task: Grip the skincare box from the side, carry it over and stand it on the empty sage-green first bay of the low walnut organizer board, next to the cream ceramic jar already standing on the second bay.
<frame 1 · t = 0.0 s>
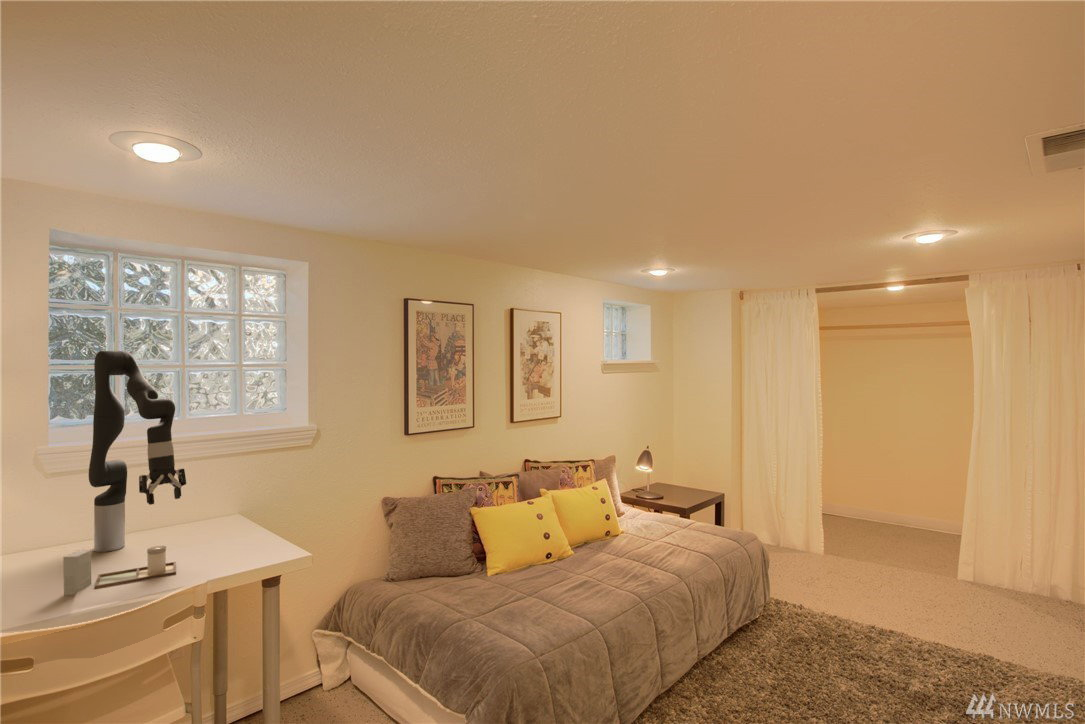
hand: (164, 501, 194), 22 cm above the table, tool pointing down, fingers open, 8 cm apart
cream jar: (156, 572, 186), point 1 cm above the table, touching organizer
organizer: (137, 578, 183), on the table
skincare box: (77, 592, 173), on the table
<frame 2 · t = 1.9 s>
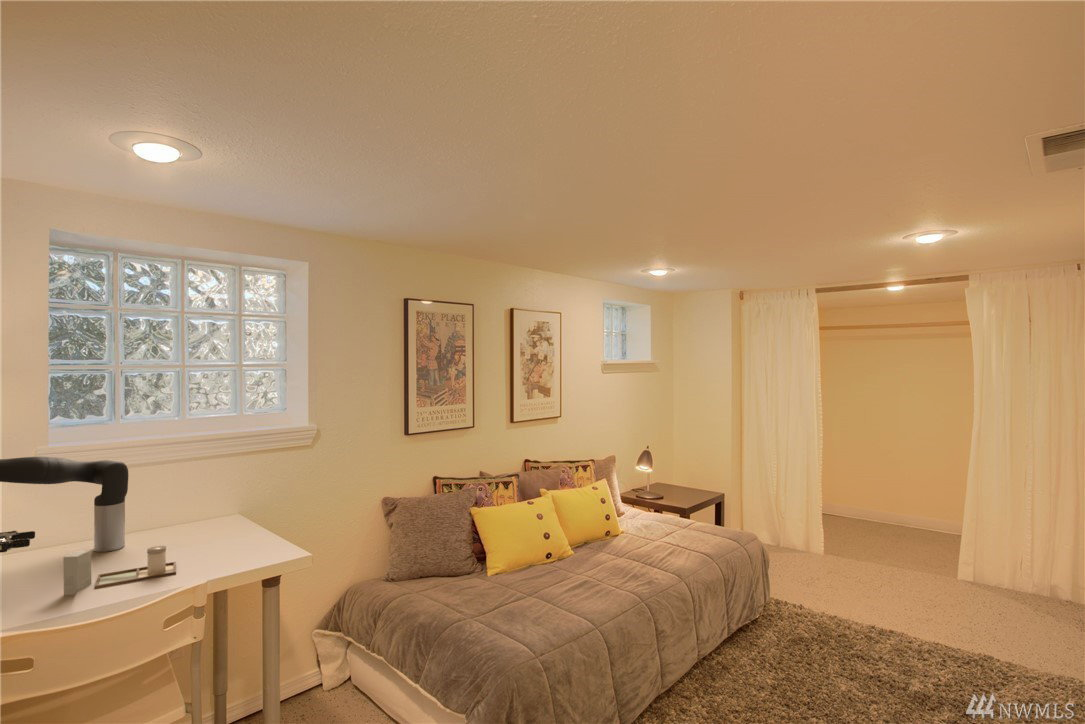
hand: (32, 538, 166), 19 cm above the table, tool horizontal, fingers open, 8 cm apart
nothing on the table moved.
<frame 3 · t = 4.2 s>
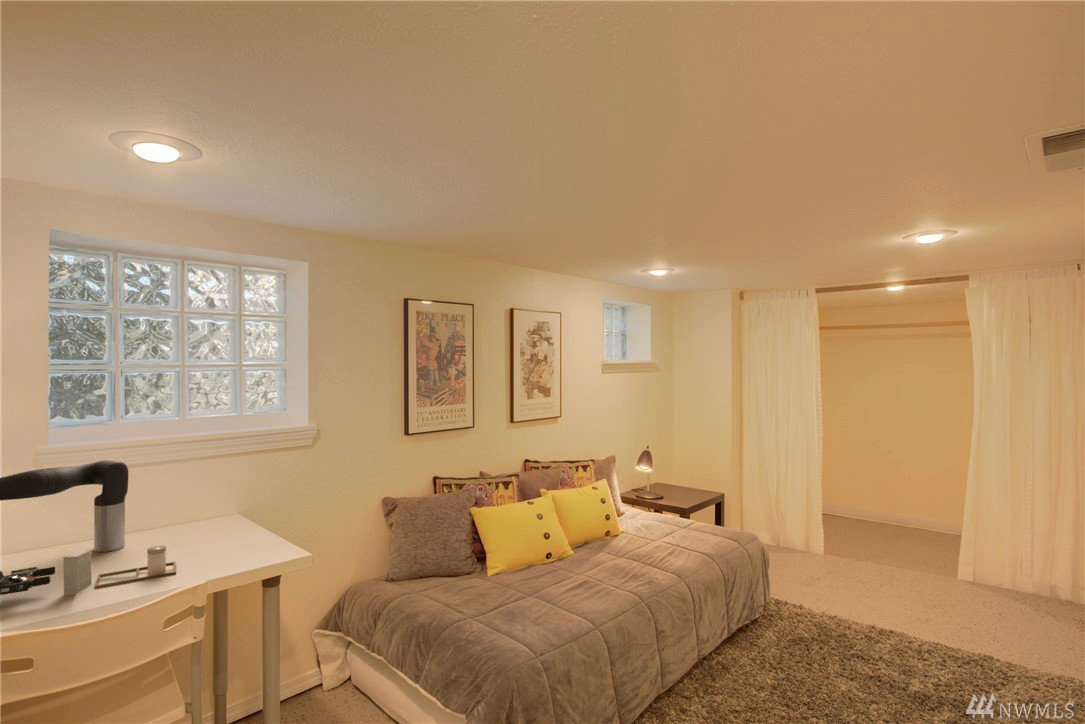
hand: (52, 574, 169), 6 cm above the table, tool horizontal, fingers open, 8 cm apart
nothing on the table moved.
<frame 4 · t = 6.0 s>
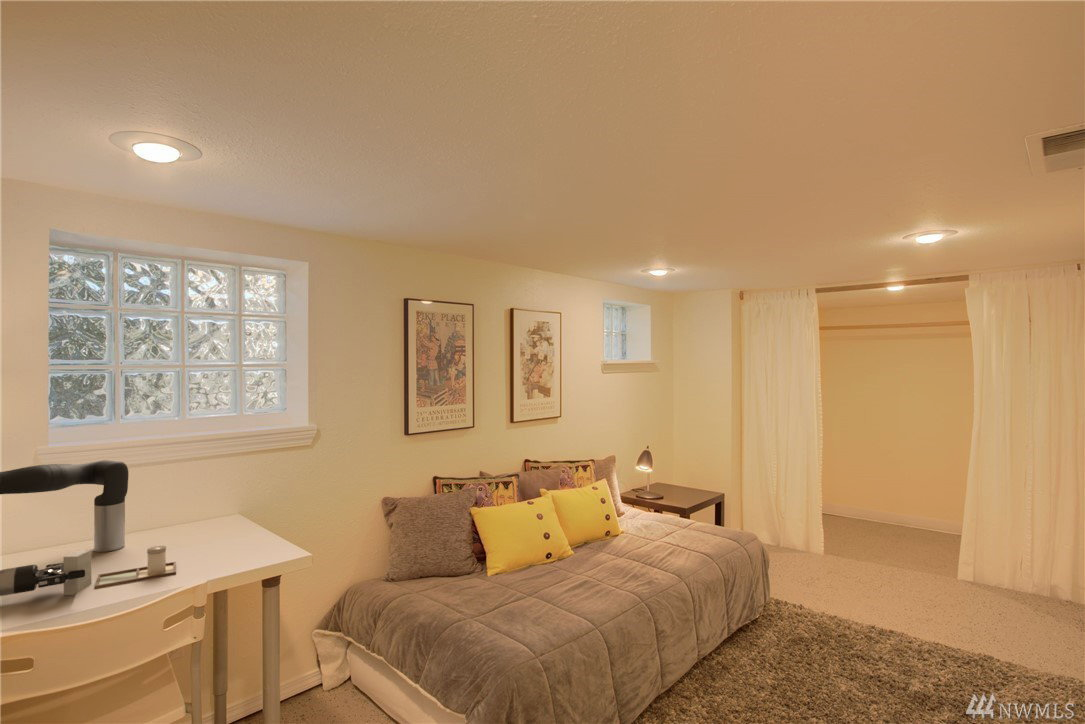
hand: (86, 568, 174), 7 cm above the table, tool horizontal, fingers closed on skincare box, 7 cm apart
skincare box: (77, 591, 173), on the table, touching gripper
everything else where it was.
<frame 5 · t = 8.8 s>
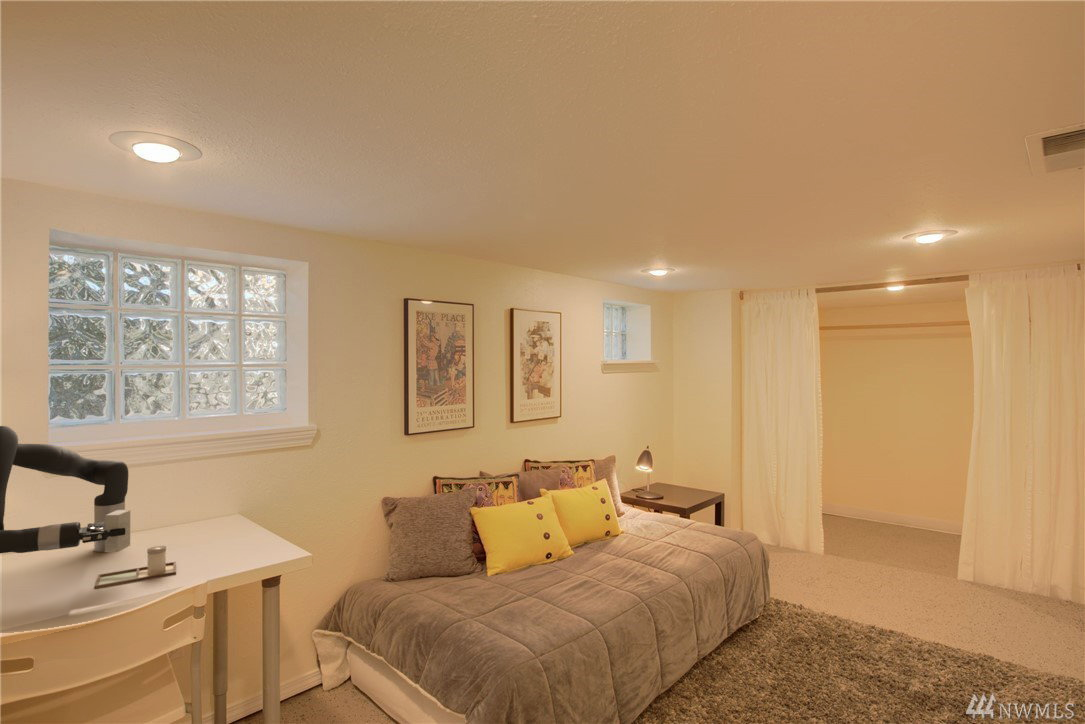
hand: (126, 528, 181), 17 cm above the table, tool horizontal, fingers closed on skincare box, 7 cm apart
skincare box: (117, 549, 180), point 11 cm above the table, touching gripper
everything else where it was.
when the fingers open (8 cm above the table, at t = 11.4 s): skincare box stays where it is, resting on organizer.
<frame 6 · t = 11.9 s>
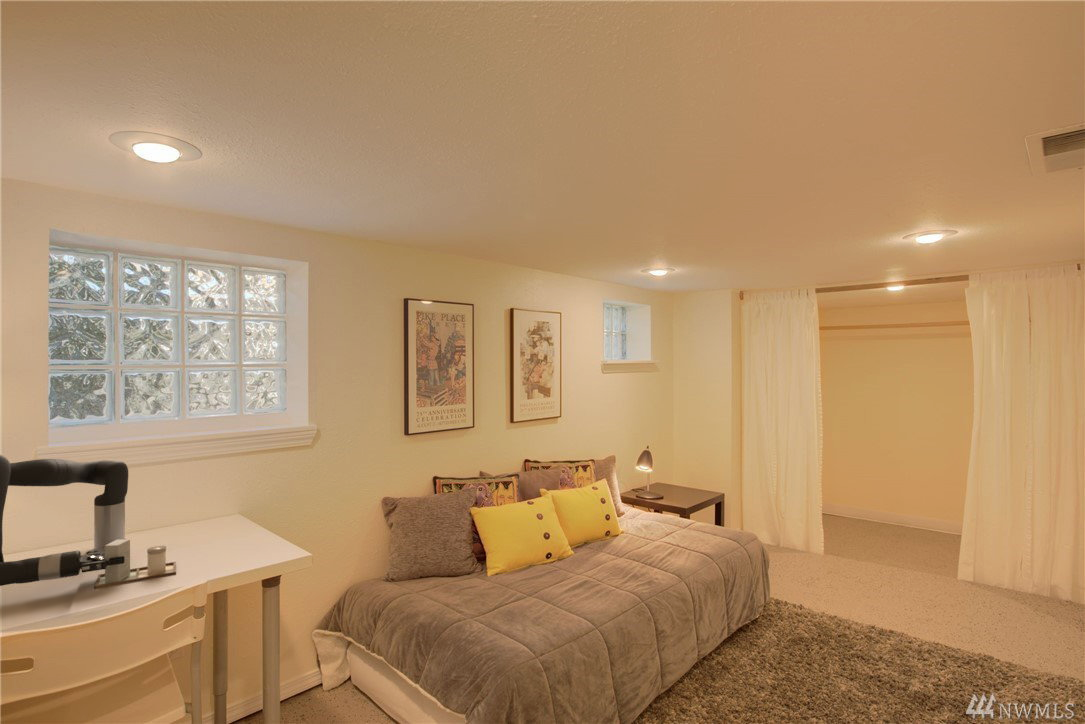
hand: (125, 555, 181), 8 cm above the table, tool horizontal, fingers open, 8 cm apart
skincare box: (117, 579, 180), point 1 cm above the table, touching organizer
everything else where it was.
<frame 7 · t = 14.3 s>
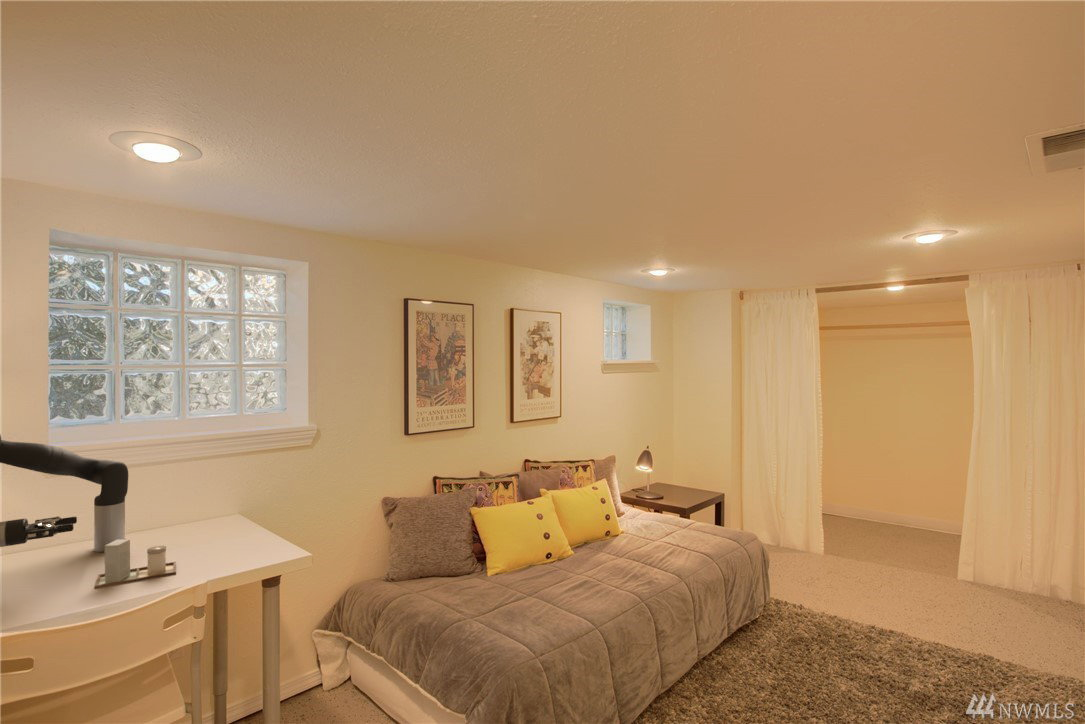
hand: (75, 523, 178), 20 cm above the table, tool horizontal, fingers open, 8 cm apart
nothing on the table moved.
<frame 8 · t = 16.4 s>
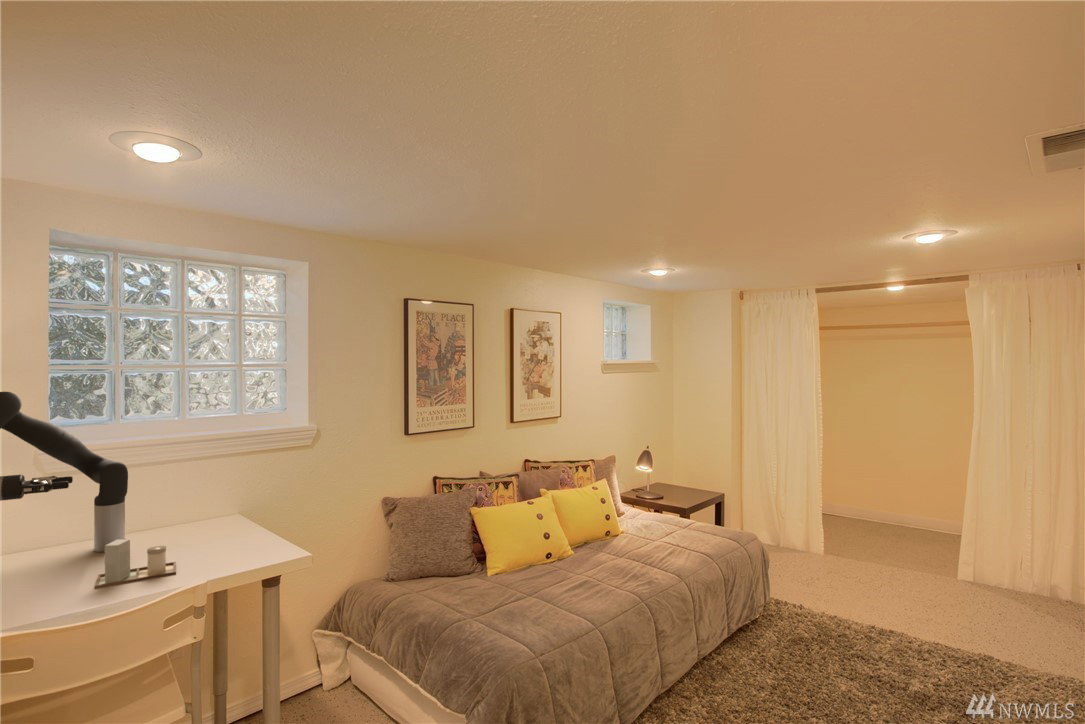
hand: (70, 482, 181), 32 cm above the table, tool horizontal, fingers open, 8 cm apart
nothing on the table moved.
at the end: skincare box inside the target area (0.1 cm from its centre), point 0.9 cm above the table; skincare box tilted 0°; the gripper is holding nothing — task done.
